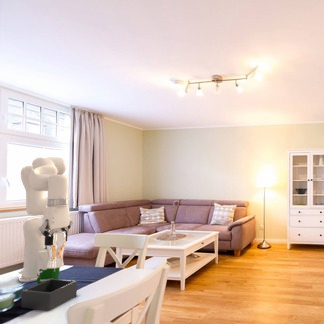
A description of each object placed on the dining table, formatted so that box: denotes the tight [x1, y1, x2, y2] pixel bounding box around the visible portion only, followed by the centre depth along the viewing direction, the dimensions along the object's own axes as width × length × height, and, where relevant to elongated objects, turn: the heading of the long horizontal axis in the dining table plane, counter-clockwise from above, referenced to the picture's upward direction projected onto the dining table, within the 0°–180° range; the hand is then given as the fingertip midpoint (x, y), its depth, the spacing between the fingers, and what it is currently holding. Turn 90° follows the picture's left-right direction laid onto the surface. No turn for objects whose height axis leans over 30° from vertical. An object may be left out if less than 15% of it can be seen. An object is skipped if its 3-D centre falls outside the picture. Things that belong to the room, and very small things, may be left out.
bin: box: [20, 279, 78, 311], centre depth 118 cm, size 14×14×7 cm
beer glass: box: [47, 231, 67, 269], centre depth 121 cm, size 7×7×15 cm
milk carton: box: [36, 246, 61, 285], centre depth 135 cm, size 9×9×20 cm
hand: (56, 242), depth 121 cm, fingers closed on beer glass, 7 cm apart
